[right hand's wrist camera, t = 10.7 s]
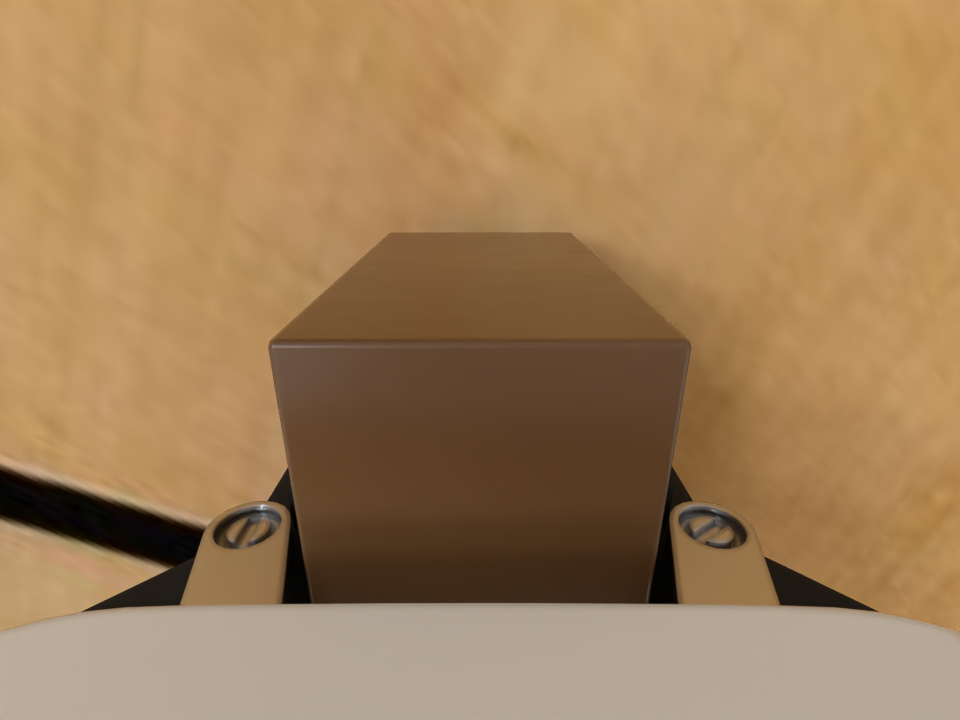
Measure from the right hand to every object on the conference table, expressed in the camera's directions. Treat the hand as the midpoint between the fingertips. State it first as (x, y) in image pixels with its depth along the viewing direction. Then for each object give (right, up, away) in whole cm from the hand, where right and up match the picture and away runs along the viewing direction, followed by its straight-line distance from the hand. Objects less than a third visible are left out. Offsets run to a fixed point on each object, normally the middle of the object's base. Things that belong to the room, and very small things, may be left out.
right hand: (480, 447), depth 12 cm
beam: (0, -26, +14) cm, 29 cm away
